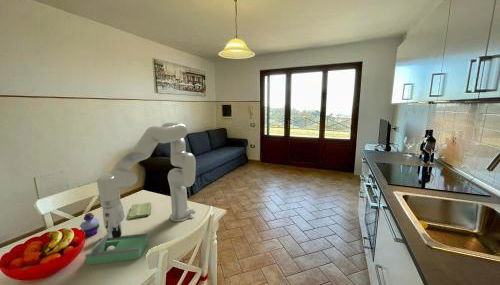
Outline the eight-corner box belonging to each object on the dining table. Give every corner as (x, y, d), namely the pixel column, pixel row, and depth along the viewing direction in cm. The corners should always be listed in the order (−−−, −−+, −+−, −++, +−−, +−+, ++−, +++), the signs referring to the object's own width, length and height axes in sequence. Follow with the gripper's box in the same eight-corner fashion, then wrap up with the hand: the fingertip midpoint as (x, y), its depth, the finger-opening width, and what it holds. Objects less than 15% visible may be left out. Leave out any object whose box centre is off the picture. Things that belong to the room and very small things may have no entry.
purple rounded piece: (102, 233, 115) (99, 214, 113) (82, 241, 109) (79, 220, 107) (99, 227, 121) (96, 208, 119) (80, 233, 115) (77, 213, 113)
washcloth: (127, 221, 128) (126, 216, 128) (132, 208, 144) (131, 203, 144) (150, 216, 133) (150, 212, 132) (152, 204, 149) (152, 200, 149)
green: (147, 241, 108) (146, 230, 107) (139, 258, 96) (138, 246, 95) (101, 247, 104) (99, 235, 103) (86, 264, 92) (84, 252, 91)
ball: (110, 253, 100) (118, 249, 101) (106, 258, 96) (114, 254, 97) (107, 246, 100) (115, 242, 100) (102, 251, 96) (111, 247, 96)
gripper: (112, 209, 89) (118, 246, 93) (126, 193, 103) (131, 226, 107) (92, 211, 88) (100, 248, 91) (109, 195, 102) (115, 228, 106)
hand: (117, 236), depth 99 cm, fingers closed
